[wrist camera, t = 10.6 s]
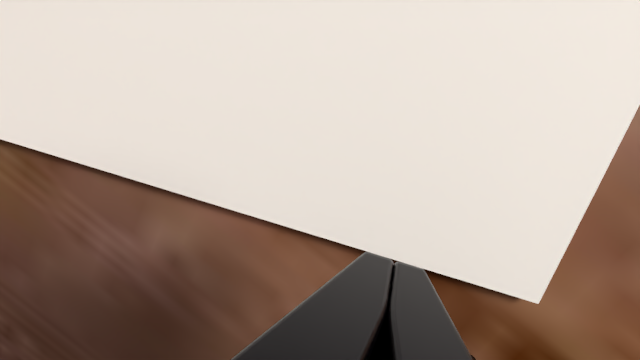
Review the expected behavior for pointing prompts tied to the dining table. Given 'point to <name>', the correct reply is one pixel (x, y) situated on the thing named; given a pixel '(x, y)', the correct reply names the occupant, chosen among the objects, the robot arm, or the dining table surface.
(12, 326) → the dining table surface
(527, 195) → the push board
